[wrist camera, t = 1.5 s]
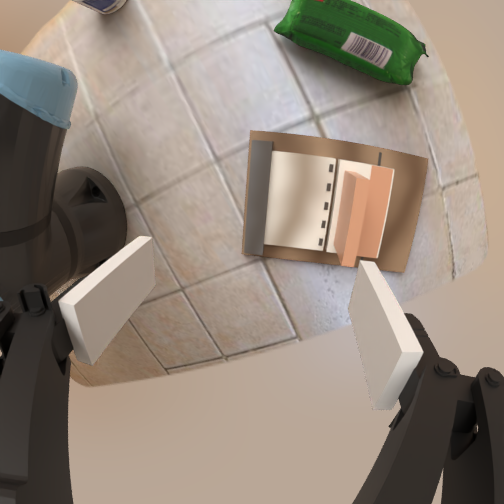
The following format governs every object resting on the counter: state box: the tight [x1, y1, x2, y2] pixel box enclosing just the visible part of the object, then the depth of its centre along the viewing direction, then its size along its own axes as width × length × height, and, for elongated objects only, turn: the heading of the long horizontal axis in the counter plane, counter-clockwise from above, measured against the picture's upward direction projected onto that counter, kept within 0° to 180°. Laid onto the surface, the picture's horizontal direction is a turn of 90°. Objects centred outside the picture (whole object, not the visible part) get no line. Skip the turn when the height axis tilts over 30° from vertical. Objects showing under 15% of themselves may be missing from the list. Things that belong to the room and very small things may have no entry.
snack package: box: [274, 0, 429, 85], centre depth 22 cm, size 7×16×5 cm, turn 69°
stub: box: [326, 159, 394, 267], centre depth 27 cm, size 6×10×7 cm, turn 176°
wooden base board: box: [242, 130, 428, 273], centre depth 30 cm, size 20×14×3 cm
